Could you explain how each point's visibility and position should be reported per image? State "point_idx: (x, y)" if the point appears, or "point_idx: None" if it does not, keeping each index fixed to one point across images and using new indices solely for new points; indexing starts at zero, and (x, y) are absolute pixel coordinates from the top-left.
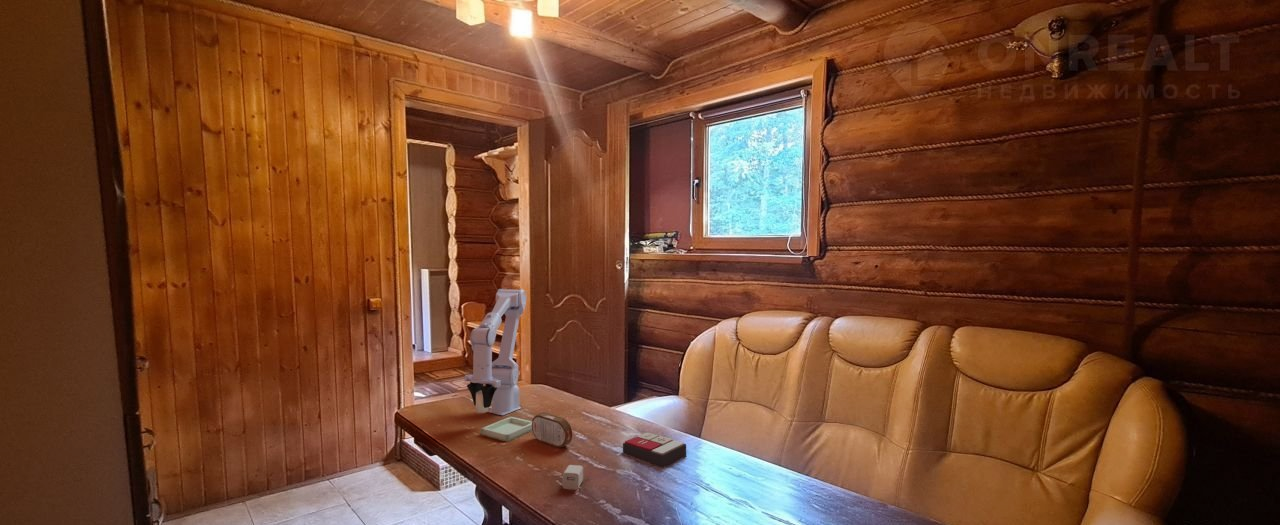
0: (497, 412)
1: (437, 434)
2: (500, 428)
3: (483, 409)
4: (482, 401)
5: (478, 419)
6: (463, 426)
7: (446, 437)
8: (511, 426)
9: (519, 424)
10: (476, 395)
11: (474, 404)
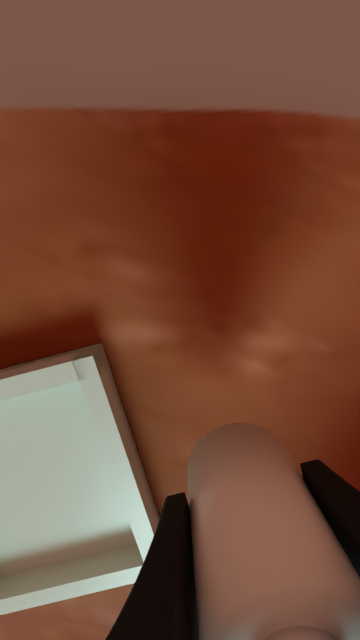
0: None
1: (298, 141)
2: (90, 457)
3: (191, 476)
4: (201, 534)
5: (345, 444)
6: (305, 330)
7: (205, 162)
8: (78, 512)
9: (78, 554)
10: (299, 560)
11: (315, 465)
